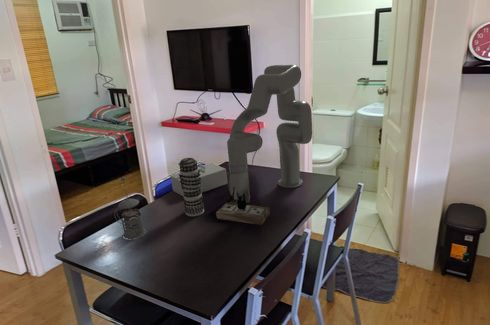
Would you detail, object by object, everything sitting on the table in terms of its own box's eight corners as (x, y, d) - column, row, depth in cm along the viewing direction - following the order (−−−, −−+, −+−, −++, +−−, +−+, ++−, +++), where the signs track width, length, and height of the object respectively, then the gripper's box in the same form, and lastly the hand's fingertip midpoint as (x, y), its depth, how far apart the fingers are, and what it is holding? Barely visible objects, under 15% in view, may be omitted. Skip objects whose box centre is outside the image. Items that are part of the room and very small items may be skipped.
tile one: (227, 210, 155) (226, 203, 154) (237, 211, 153) (236, 205, 152) (221, 215, 151) (221, 208, 150) (232, 216, 149) (231, 210, 148)
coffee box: (250, 197, 167) (247, 165, 162) (249, 203, 161) (246, 170, 156) (231, 197, 168) (228, 166, 163) (229, 203, 162) (226, 171, 157)
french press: (140, 240, 137) (128, 182, 129) (113, 240, 140) (100, 182, 132) (151, 228, 146) (140, 172, 138) (125, 227, 149) (113, 172, 141)
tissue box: (227, 184, 186) (225, 164, 183) (185, 198, 173) (182, 178, 169) (213, 177, 197) (211, 159, 194) (172, 190, 184) (169, 171, 180)
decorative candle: (206, 214, 154) (199, 160, 146) (185, 218, 152) (177, 164, 144) (203, 205, 163) (197, 154, 154) (183, 209, 161) (176, 158, 153)
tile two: (253, 213, 150) (253, 207, 149) (264, 215, 148) (264, 208, 147) (249, 219, 146) (248, 212, 145) (260, 220, 144) (259, 213, 143)
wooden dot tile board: (227, 208, 158) (226, 202, 157) (269, 213, 150) (269, 207, 149) (216, 218, 150) (216, 212, 149) (261, 225, 141) (261, 218, 140)
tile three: (240, 211, 153) (239, 204, 152) (250, 212, 151) (250, 205, 150) (235, 216, 148) (234, 209, 147) (246, 218, 146) (245, 211, 145)
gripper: (238, 161, 150) (241, 200, 156) (221, 173, 137) (226, 214, 143) (254, 162, 147) (256, 201, 153) (239, 174, 134) (242, 217, 140)
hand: (242, 208), depth 148 cm, fingers closed
